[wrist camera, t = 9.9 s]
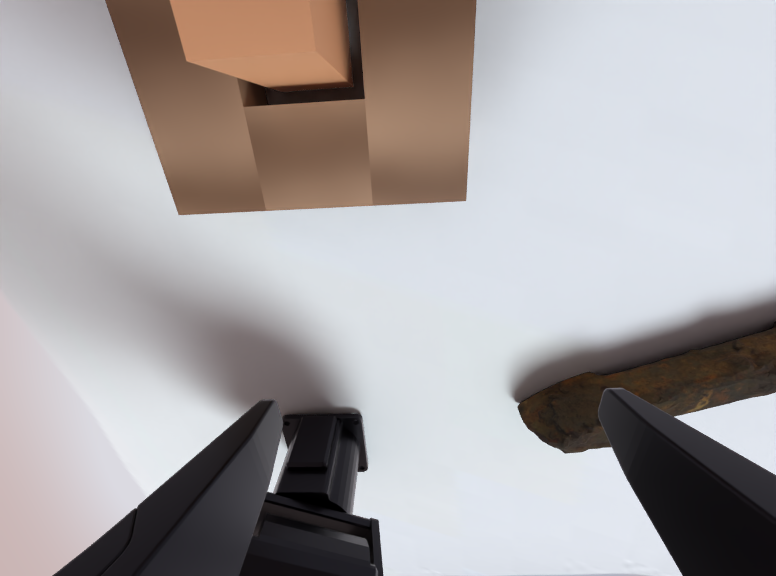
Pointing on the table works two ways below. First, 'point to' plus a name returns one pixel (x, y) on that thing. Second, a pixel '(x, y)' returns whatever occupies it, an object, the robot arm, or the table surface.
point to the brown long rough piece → (654, 390)
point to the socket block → (311, 116)
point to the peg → (269, 41)
